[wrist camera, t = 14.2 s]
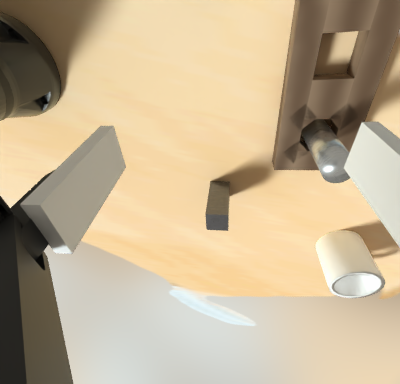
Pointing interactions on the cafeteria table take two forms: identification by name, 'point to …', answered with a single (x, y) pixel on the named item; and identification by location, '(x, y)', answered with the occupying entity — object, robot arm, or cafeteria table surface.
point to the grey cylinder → (326, 150)
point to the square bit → (218, 206)
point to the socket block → (331, 83)
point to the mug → (348, 265)
